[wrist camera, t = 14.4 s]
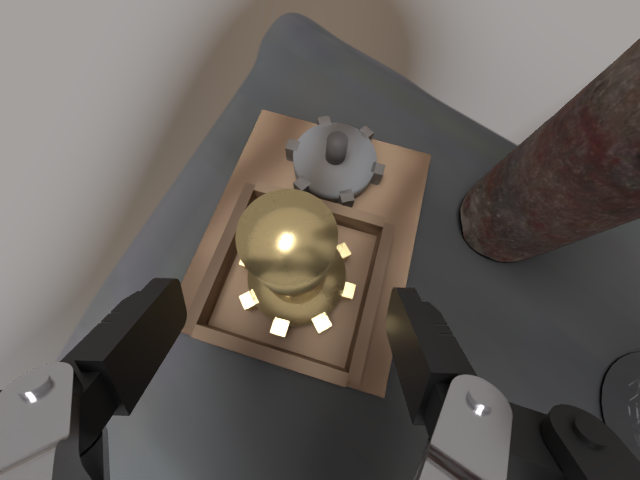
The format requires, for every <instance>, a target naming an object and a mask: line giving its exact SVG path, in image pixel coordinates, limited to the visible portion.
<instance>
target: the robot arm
mask: <svg viewBox="0 0 640 480" xmlns="http://www.w3.org/2000/svg"><path fill="white" fill-rule="evenodd" d="M186 319H187V309H186V305H185V301H184V296H183V292H182V288H181V284H180V281H179V280H178V279H172V278H154V279H152V280H151V281H150V282H149V283H148V284H147V285H146V286H145V287H144V288H143V289H142V290H141V291H137V292H136V293H134V294H132V295H130V296H129V297H127V298H125V299H124V300H122V301H121V302H120V303H119V304H118V305H117V306H116V307H115V308H114V309H113V310H112V311H111V314H108V315H107V316H106V317H105V318H104V319H103V320H102V321H101V324H100V323H99V324H98V325H97V326H96V327H95V328H94V329H93V330H92V331H91V332H90V333H89V334H88V335H87V336H86V337H85V338H84V339H83V340H82V341H80V342H79V343H78V344H77V345H76V346H75V347H74V348H73V349H72V350H71V351H70V352H69V353H68V354H67V355H66V356H65V357H64V358H63V359H62V360H61V361H60V362H55V363H49V364H45V365H43V366H39V367H37V368H35V369H32V370H30V371H28V372H26V373H25V374H23V375H21V376H19V377H18V378H17V379H15V380H14V381H12V382H11V383H10V384H9V385H7V386H6V387H5V388H4V389H3V390H0V480H110V469H109V447H108V431H107V428H106V424H107V423H108V421H109V420H110V418H111V417H112V415H121V416H129V415H130V414H131V412H132V410H133V409H134V407H135V406H136V404H137V402H138V401H139V399H140V397H141V396H142V394H143V393H144V391H145V389H146V388H147V386H148V385H149V383H150V381H151V380H152V378H153V376H154V375H155V373H156V372H157V370H158V368H159V367H160V365H161V363H162V362H163V360H164V359H165V357H166V355H167V354H168V352H169V350H170V349H171V347H172V346H173V344H174V342H175V341H176V339H177V337H178V336H179V334H180V333H181V331H182V329H183V328H184V326H185V323H186ZM386 333H387V337H388V341H389V344H390V348H391V351H392V355H393V358H394V362H395V365H396V368H397V372H398V375H399V379H400V382H401V386H402V389H403V393H404V396H405V400H406V403H407V407H408V410H409V413H410V417H411V420H412V424H413V425H425V426H426V429H427V432H428V435H429V437H428V440H427V442H426V445H425V448H424V451H423V453H422V456H421V459H420V462H419V465H418V468H417V470H416V473H415V476H414V479H413V480H640V352H637V353H630V354H628V355H626V356H624V357H622V358H620V359H619V360H618V361H616V362H615V363H614V364H613V365H612V366H611V368H610V370H609V371H608V373H607V375H606V377H605V380H604V384H603V387H602V409H603V416H604V420H605V423H606V424H604V423H603V422H602V421H601V420H599V419H598V418H596V417H595V416H593V415H591V414H590V413H588V412H586V411H584V410H582V409H580V408H577V407H574V406H571V405H565V404H560V405H556V406H554V407H553V408H552V409H551V410H550V412H549V413H548V414H547V415H546V414H543V413H540V412H537V411H534V410H531V409H528V408H525V407H522V406H519V405H515V404H513V403H510V402H508V401H507V399H506V398H505V397H504V395H503V394H502V393H501V392H500V391H499V390H498V389H497V388H496V387H495V386H493V385H492V384H490V383H489V382H487V381H486V380H484V379H482V378H479V377H478V376H477V375H476V373H475V371H474V370H473V368H472V366H471V365H470V363H469V361H468V359H467V358H466V356H465V354H464V352H463V351H462V349H461V347H460V346H459V344H458V342H457V340H456V339H455V337H454V336H453V333H452V332H451V330H450V328H449V327H448V326H447V323H446V321H445V320H444V318H443V316H442V314H441V313H440V312H439V311H438V310H437V309H436V308H435V307H434V306H433V305H431V304H430V303H429V302H422V301H421V299H420V297H419V295H418V293H417V291H416V289H415V288H401V287H394V288H393V289H392V292H391V296H390V301H389V306H388V311H387V316H386Z"/></svg>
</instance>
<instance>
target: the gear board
mask: <svg viewBox="0 0 640 480" xmlns="http://www.w3.org/2000/svg"><path fill="white" fill-rule="evenodd" d="M373 134H374V132H373V131H371V130H370V129H369V128H368V127H367V126H364V127H363V128H361V129H360V130H358V129H357V128H355V127H352V126H350V125H347V124H343V123H331V121H330V118H329V116H324V117H318V119H317V124H315V123H311V122H307V121H303V120H300V119H296V118H292V117H289V116H285V115H281V114H277V113H274V112H270V111H266V110H262V112H261V114H260V116H259V118H258V120H257V122H256V125H255V127H254V129H253V131H252V133H251V135H250V137H249V140H248V142H247V144H246V146H245V148H244V150H243V152H242V155H241V157H240V159H239V161H238V163H237V165H236V167H235V170H234V172H233V174H232V176H231V178H230V180H229V182H228V185H227V187H226V189H225V191H224V193H223V195H222V197H221V200H220V202H219V204H218V206H217V208H216V210H215V212H214V215H213V217H212V219H211V221H210V223H209V225H208V227H207V230H206V232H205V234H204V236H203V238H202V240H201V242H200V245H199V247H198V249H197V251H196V253H195V255H194V257H193V259H192V262H191V264H190V266H189V268H188V270H187V272H186V274H185V277H184V279H183V281H182V283H181V288H182V292H183V296H184V301H185V305H186V309H187V319H186V323H185V326H184V328H183V329H182V331H181V332H182V333H185V334H188V335H191V337H192V338H195V339H198V340H201V341H204V342H207V343H210V344H213V345H216V346H219V347H222V348H225V349H228V350H232V351H235V352H238V353H241V354H244V355H247V356H250V357H253V358H256V359H259V360H262V361H265V362H268V363H272V364H275V365H278V366H281V367H284V368H287V369H290V370H293V371H296V372H299V373H302V374H305V375H308V376H311V377H315V378H318V379H321V380H324V381H327V382H330V383H333V384H336V385H339V386H342V387H346V386H348V387H351V388H354V389H357V390H360V391H363V392H366V393H369V394H372V395H375V396H379V397H382V398H384V397H385V392H386V386H387V381H388V376H389V371H390V366H391V361H392V351H391V348H390V344H389V341H388V337H387V333H386V316H387V311H388V306H389V301H390V296H391V292H392V289H393V288H394V287H401V288H406V283H407V278H408V272H409V267H410V262H411V257H412V252H413V246H414V241H415V236H416V231H417V226H418V220H419V215H420V210H421V205H422V200H423V195H424V189H425V184H426V179H427V174H428V169H429V163H430V158H431V155H429V154H426V153H422V152H418V151H415V150H411V149H407V148H403V147H400V146H396V145H392V144H389V143H385V142H381V141H378V140H374V139H372V137H373ZM279 189H297V190H302V191H305V192H308V193H310V194H312V195H314V196H316V197H317V198H319V199H320V200H321V201H323V202H324V203H325V204H326V205H327V207H328V208H329V209H330V211H331V212H332V214H333V216H334V218H335V220H336V223H337V228H338V244H337V246H338V245H340V244H342V243H344V242H345V244H346V245H347V247H348V249H349V251H350V252H351V256H350V257H349V259H348V260H346V261H344V265H345V270H346V282H348V283H351V284H355V285H356V287H355V291H354V295H353V298H352V300H350V301H347V300H344V299H340V301H339V302H338V304H337V305H336V307H335V308H334V309H333V310H332V311H331V312H330V313H329V314H328V315H327V317H328V319H329V321H330V322H331V324H332V326H331V327H329V328H327V329H325V330H324V331H322V332H320V333H318V332H317V330H316V328H315V326H314V324H313V323H312V324H309V325H304V326H290V327H289V330H288V333H287V336H286V337H283V336H280V335H276V334H273V333H270V330H271V327H272V325H273V322H274V321H273V320H271V319H269V318H268V317H267V316H265V315H264V314H263V313H262V312H261V311H260V310H259V309H258V308H255V309H254V310H252V311H247V310H245V309H244V307H243V305H242V302H241V300H240V298H239V296H241V295H243V294H245V293H247V292H248V291H249V288H248V281H247V276H248V270H246V269H244V268H242V267H241V266H240V265H239V262H240V260H241V259H240V257H239V255H238V252H237V248H236V241H235V236H236V229H237V225H238V222H239V219H240V217H241V215H242V214H243V212H244V211H245V209H246V208H247V207H248V206H249V205H250V204H251V203H252V202H253V201H254V200H256V199H257V198H258V197H260V196H262V195H264V194H266V193H268V192H271V191H274V190H279Z"/></svg>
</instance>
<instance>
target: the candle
mask: <svg viewBox="0 0 640 480" xmlns="http://www.w3.org/2000/svg"><path fill="white" fill-rule="evenodd" d="M460 211H461V221H462V227H463V236H464V238H465V240H466V242H467V243H468V244H469V245H470V246H471V247H472V248H473V249H474V250H475V251H477V252H478V253H480V254H482V255H484V256H487V257H489V258H491V259H494V260H497V261H500V262H513V261H519V260H524V259H527V258H530V257H533V256H536V255H539V254H542V253H545V252H548V251H550V250H553V249H556V248H559V247H562V246H565V245H568V244H570V243H573V242H576V241H578V240H581V239H584V238H587V237H589V236H592V235H595V234H598V233H600V232H603V231H606V230H609V229H612V228H614V227H617V226H620V225H622V224H625V223H628V222H630V221H633V220H636V219H639V218H640V39H639V40H637V41H636V42H635V43H634V44H633V45H632V46H631V47H630V48H629V49H628V50H627V51H625V52H624V53H623V54H622V55H621V56H620V57H619V58H618V59H617V60H616V61H614V62H613V63H612V64H611V65H610V66H609V67H608V68H607V69H606V70H604V71H603V72H602V73H601V74H599V75H598V76H597V77H596V78H595V79H594V80H593V81H592V82H590V83H589V84H588V85H587V86H586V87H585V88H584V89H582V90H581V91H580V92H579V93H578V94H577V95H576V96H575V97H574V98H572V99H571V100H570V101H569V102H568V103H567V104H566V105H564V107H562V108H561V109H560V110H559V111H558V112H557V113H556V114H555V115H554V116H552V117H551V118H550V119H549V120H547V121H546V122H545V123H544V124H543V125H542V126H540V127H539V128H538V129H537V130H536V131H535V132H534V133H532V135H530V136H529V137H528V138H527V139H526V140H525V141H523V142H522V143H521V144H520V145H519V146H518V147H516V148H515V149H514V150H513V151H512V152H511V153H510V154H508V155H507V156H506V157H505V158H504V159H503V160H502V161H501V162H499V163H498V164H497V165H496V166H495V167H494V168H493V169H492V170H491V171H489V172H488V173H487V174H486V175H485V176H484V177H483V178H482V179H481V180H480V181H479V182H478V183H476V184H475V185H474V186H473V187H472V188H471V189H470V190H469V191H468V193H467V195H466V197H465V199H464V201H463V203H462V206H461V209H460Z"/></svg>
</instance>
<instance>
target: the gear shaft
mask: <svg viewBox="0 0 640 480" xmlns="http://www.w3.org/2000/svg"><path fill="white" fill-rule="evenodd" d="M235 241H236V248H237V252H238V255H239V257H240V259H241V260H240V262H239V265H240V266H241V267H242V268H244V269H246V270H248V276H247V281H248V288H249V291H248V292H247V293H245V294H243V295H241V296H239V298H240V300H241V302H242V305H243V307H244V309H245V310H247V311H252V310H254V309H255V308H258V309H259V310H260V311H261V312H262V313H263V314H264V315H265V316H267V317H268V318H269V319H271V320H273V321H274V322H273V325H272V327H271V330H270V333H273V334H276V335H280V336H283V337H286V336H287V333H288V330H289V327H290V326H304V325H309V324H312V323H313V324H314V326H315V328H316V330H317V332H318V333H320V332H322V331H324V330H325V329H327V328H329V327H331V326H332V324H331V322H330V321H329V319H328V317H327V315H328V314H329V313H330V312H331V311H332V310H333V309H334V308H335V307H336V305H337V304H338V302H339V301H340V299H344V300H347V301H350V300H352V298H353V295H354V291H355V287H356V285H355V284H351V283H348V282H346V270H345V265H344V261H346V260H348V259H349V257H350V256H351V252H350V251H349V249H348V247H347V245H346V244H345V242H344V243H342V244H340V245H338V246H337V244H338V228H337V223H336V220H335V218H334V216H333V214H332V212H331V211H330V209H329V208H328V207H327V205H326V204H325V203H324V202H323V201H321V200H320V199H319V198H317V197H316V196H314V195H312V194H310V193H308V192H305V191H302V190H297V189H279V190H274V191H271V192H268V193H266V194H264V195H262V196H260V197H258V198H257V199H256V200H254V201H253V202H252V203H251V204H250V205H249V206H248V207H247V208H246V209H245V211H244V212H243V214H242V215H241V217H240V219H239V222H238V225H237V229H236V236H235Z"/></svg>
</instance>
